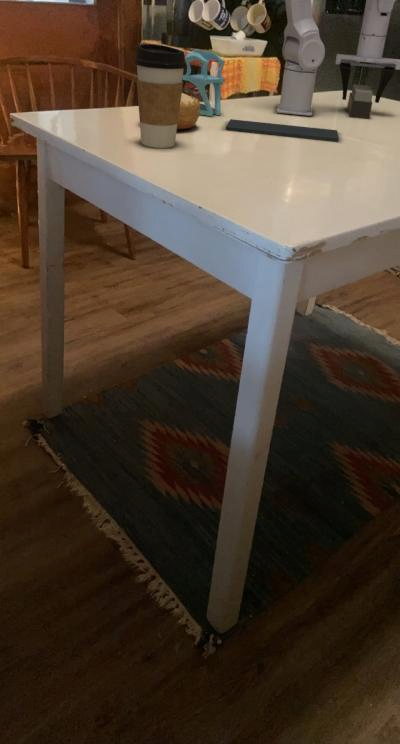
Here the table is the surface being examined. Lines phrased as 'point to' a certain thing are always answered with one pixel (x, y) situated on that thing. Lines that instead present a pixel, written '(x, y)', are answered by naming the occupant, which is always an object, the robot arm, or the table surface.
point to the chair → (206, 80)
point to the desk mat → (283, 130)
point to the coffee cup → (159, 93)
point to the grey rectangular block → (360, 102)
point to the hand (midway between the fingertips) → (360, 100)
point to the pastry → (188, 112)
